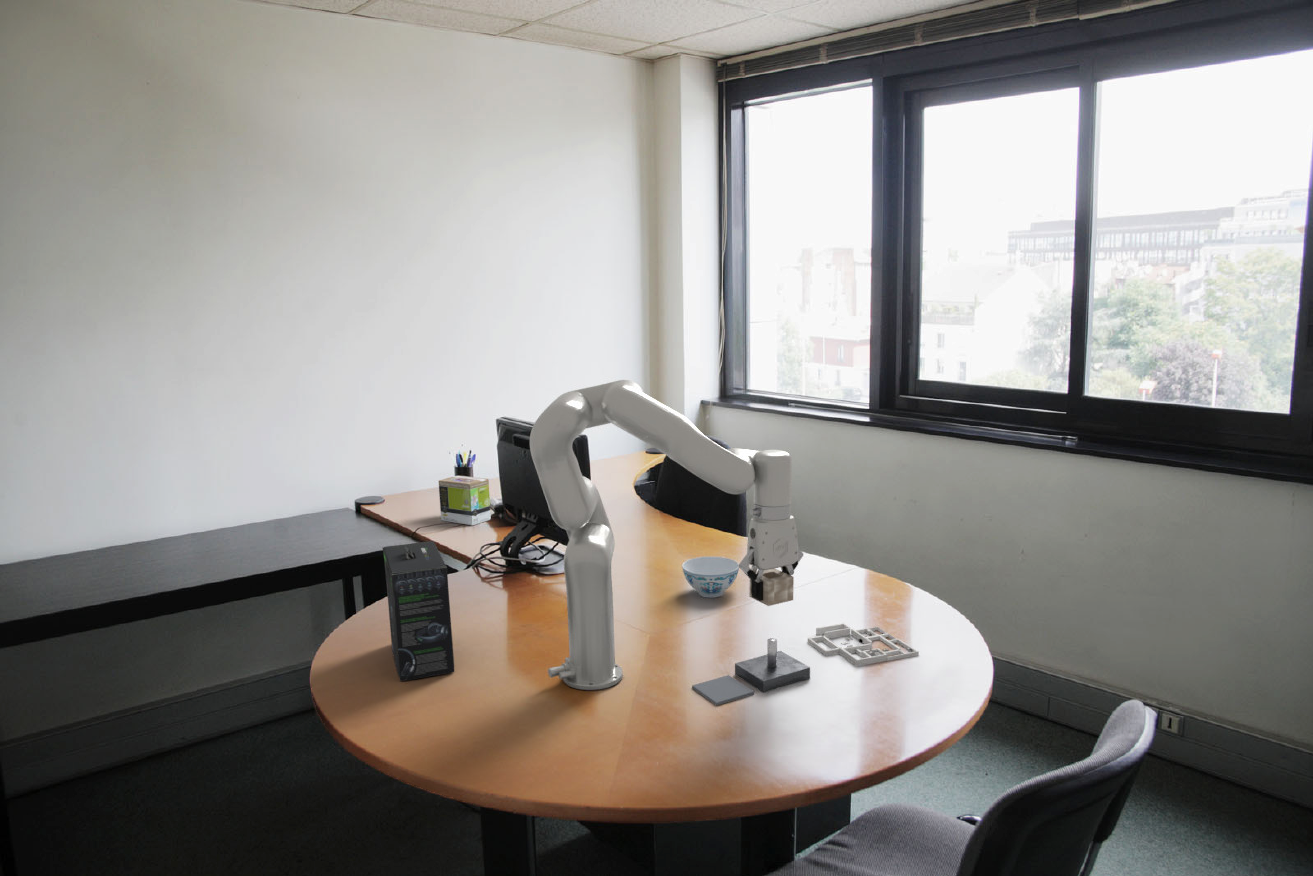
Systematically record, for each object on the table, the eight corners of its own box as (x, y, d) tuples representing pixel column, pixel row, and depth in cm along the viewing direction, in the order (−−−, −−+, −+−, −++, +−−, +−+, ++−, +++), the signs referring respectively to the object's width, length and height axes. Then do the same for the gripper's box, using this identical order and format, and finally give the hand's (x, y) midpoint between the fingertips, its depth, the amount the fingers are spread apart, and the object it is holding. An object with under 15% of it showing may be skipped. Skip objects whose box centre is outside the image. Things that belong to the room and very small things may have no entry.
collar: (768, 606, 184) (768, 582, 183) (749, 596, 189) (749, 573, 189) (793, 600, 187) (793, 576, 186) (774, 591, 193) (774, 568, 192)
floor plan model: (777, 642, 210) (777, 634, 209) (871, 626, 218) (871, 618, 217) (818, 675, 192) (818, 667, 192) (918, 656, 200) (918, 648, 200)
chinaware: (747, 587, 245) (747, 559, 244) (727, 606, 232) (727, 577, 230) (695, 580, 251) (695, 553, 250) (673, 598, 238) (673, 570, 237)
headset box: (389, 644, 213) (381, 537, 208) (442, 635, 217) (434, 531, 212) (398, 683, 192) (389, 566, 188) (456, 673, 196) (448, 558, 192)
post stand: (763, 692, 184) (763, 655, 183) (735, 674, 193) (734, 638, 191) (809, 678, 190) (810, 642, 189) (780, 661, 199) (780, 626, 197)
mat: (716, 705, 179) (716, 702, 179) (692, 688, 187) (692, 685, 187) (753, 694, 184) (753, 691, 184) (728, 677, 191) (728, 675, 191)
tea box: (492, 519, 319) (489, 478, 316) (471, 526, 310) (469, 484, 308) (460, 514, 327) (457, 474, 324) (440, 521, 318) (437, 479, 316)
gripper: (748, 521, 177) (747, 609, 181) (817, 509, 186) (815, 593, 189) (726, 513, 184) (726, 598, 187) (794, 501, 192) (793, 582, 196)
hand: (771, 594), depth 188 cm, fingers closed on collar, 6 cm apart
